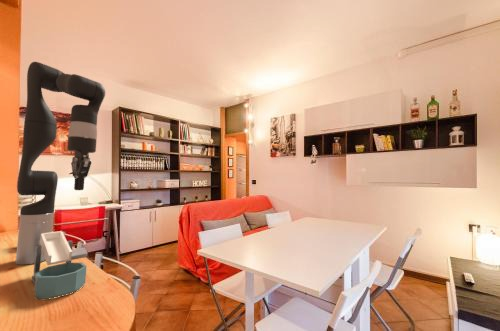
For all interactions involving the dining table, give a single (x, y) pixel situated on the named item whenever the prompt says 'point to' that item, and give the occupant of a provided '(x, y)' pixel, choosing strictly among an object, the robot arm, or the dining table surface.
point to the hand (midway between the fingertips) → (78, 190)
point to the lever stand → (38, 259)
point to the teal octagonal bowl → (59, 280)
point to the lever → (59, 248)
